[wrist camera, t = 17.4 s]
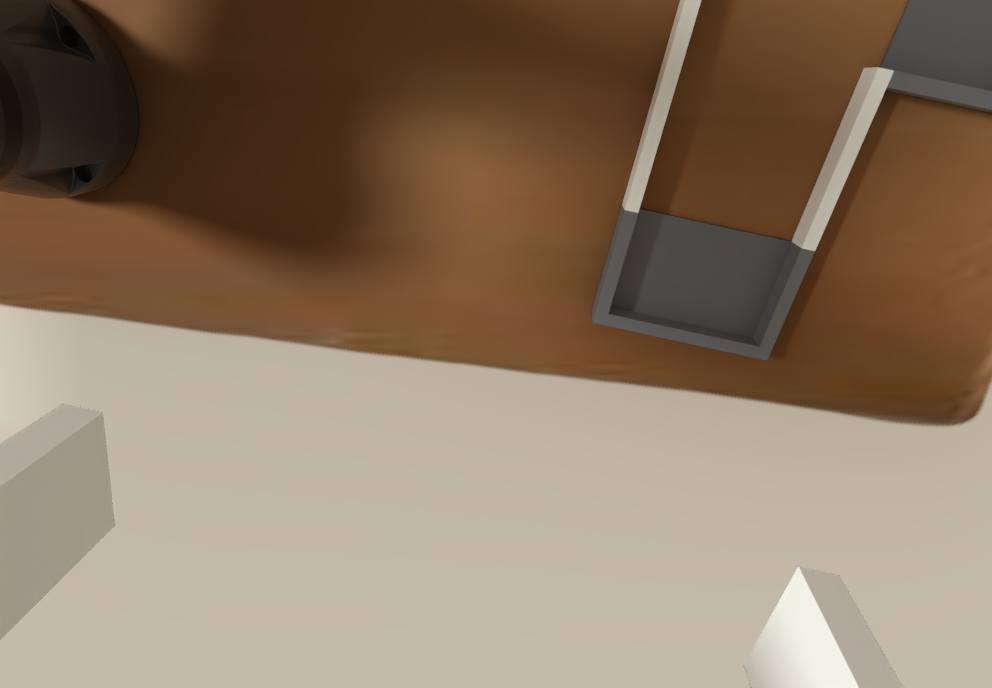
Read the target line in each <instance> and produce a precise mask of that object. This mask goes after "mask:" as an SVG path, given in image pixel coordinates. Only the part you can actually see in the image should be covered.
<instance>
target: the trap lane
mask: <svg viewBox="0 0 992 688" xmlns="http://www.w3.org/2000/svg"><path fill="white" fill-rule="evenodd" d="M700 4H701V0H680V2H679V6H678V9H677V13H676V16H675V20H674V23H673V27H672V30H671V34H670V37H669V41H668V44H667V48H666V51H665V55H664V59H663V62H662V66H661V69H660V73H659V76H658V80H657V83H656V87H655V90H654V94H653V97H652V101H651V104H650V108H649V111H648V115H647V118H646V122H645V126H644V129H643V133H642V136H641V140H640V143H639V147H638V150H637V154H636V157H635V161H634V164H633V168H632V171H631V175H630V178H629V182H628V185H627V189H626V193H625V196H624V200H623V203H622V207H621V210H620V214H619V217H618V221H617V224H616V228H615V231H614V235H613V238H612V242H611V245H610V249H609V252H608V256H607V260H606V263H605V267H604V270H603V274H602V277H601V281H600V284H599V288H598V291H597V295H596V298H595V302H594V305H593V309H592V312H591V316H592V323H595V324H600V325H605V326H609V327H614V328H618V329H623V330H628V331H632V332H637V333H641V334H646V335H651V336H655V337H660V338H664V339H669V340H673V341H678V342H683V343H687V344H692V345H696V346H701V347H706V348H710V349H715V350H719V351H724V352H729V353H733V354H738V355H742V356H747V357H751V358H756V359H761V360H765V361H767V360H768V358H769V356H770V353H771V351H772V349H773V346H774V344H775V342H776V340H777V337H778V335H779V333H780V330H781V328H782V326H783V324H784V321H785V319H786V317H787V314H788V312H789V310H790V308H791V305H792V303H793V301H794V298H795V296H796V294H797V292H798V289H799V287H800V285H801V282H802V280H803V278H804V276H805V273H806V271H807V269H808V266H809V264H810V262H811V260H812V257H813V255H814V253H815V250H816V248H817V246H818V244H819V241H820V239H821V237H822V234H823V232H824V230H825V228H826V225H827V223H828V221H829V218H830V216H831V214H832V212H833V209H834V207H835V205H836V202H837V200H838V198H839V196H840V193H841V191H842V189H843V186H844V184H845V182H846V180H847V177H848V175H849V173H850V170H851V168H852V166H853V164H854V161H855V159H856V157H857V154H858V152H859V150H860V148H861V145H862V143H863V141H864V138H865V136H866V134H867V132H868V129H869V127H870V125H871V122H872V120H873V118H874V116H875V113H876V111H877V109H878V106H879V104H880V102H881V100H882V97H883V95H884V93H885V90H887V91H891V92H896V93H901V94H905V95H910V96H915V97H920V98H924V99H929V100H934V101H938V102H943V103H948V104H952V105H957V106H962V107H966V108H971V109H976V110H980V111H985V112H990V113H992V0H909V1H908V3H907V6H906V8H905V10H904V13H903V15H902V17H901V20H900V22H899V24H898V27H897V29H896V31H895V34H894V36H893V38H892V41H891V43H890V45H889V48H888V50H887V52H886V55H885V57H884V59H883V62H882V64H881V66H880V67H874V68H864V69H863V71H862V73H861V76H860V78H859V81H858V83H857V85H856V88H855V90H854V93H853V95H852V97H851V100H850V102H849V105H848V107H847V109H846V112H845V114H844V117H843V119H842V121H841V124H840V126H839V129H838V131H837V133H836V136H835V138H834V141H833V143H832V145H831V148H830V150H829V153H828V155H827V157H826V160H825V162H824V165H823V167H822V169H821V172H820V174H819V177H818V179H817V181H816V184H815V186H814V189H813V191H812V193H811V196H810V198H809V201H808V203H807V205H806V208H805V210H804V213H803V215H802V217H801V220H800V222H799V225H798V227H797V229H796V232H795V234H794V237H793V239H792V241H787V240H782V239H778V238H773V237H768V236H764V235H759V234H754V233H750V232H745V231H741V230H736V229H731V228H727V227H722V226H717V225H713V224H708V223H704V222H699V221H694V220H690V219H685V218H680V217H676V216H671V215H666V214H662V213H657V212H653V211H648V210H643V209H640V206H641V202H642V199H643V196H644V192H645V189H646V185H647V182H648V179H649V175H650V172H651V169H652V165H653V162H654V159H655V155H656V152H657V148H658V145H659V142H660V138H661V135H662V132H663V128H664V125H665V121H666V118H667V115H668V111H669V108H670V105H671V101H672V98H673V95H674V91H675V88H676V84H677V81H678V78H679V74H680V71H681V68H682V64H683V61H684V58H685V54H686V51H687V47H688V44H689V41H690V37H691V34H692V31H693V27H694V24H695V21H696V17H697V14H698V10H699V7H700Z"/></svg>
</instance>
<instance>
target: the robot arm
mask: <svg viewBox="0 0 992 688" xmlns="http://www.w3.org/2000/svg"><path fill="white" fill-rule="evenodd" d="M137 133H138V109H137V102H136V97H135V92H134V88H133V85H132V82H131V79H130V76H129V73H128V71H127V69H126V66H125V64H124V62H123V60H122V58H121V56H120V54H119V53H118V51H117V49H116V48H115V46H114V44H113V43H112V41H111V40H110V39H109V37H108V36H107V34H106V33H105V32H104V31H103V29H102V28H101V27H100V26H99V25H98V24H97V22H96V21H95V20H94V19H93V18H92V17H91V16H90V15H89V14H88V13H87V12H85V11H84V10H83V9H82V8H81V7H80V6H78V5H77V4H76V3H75V2H73V1H72V0H0V191H2V192H8V193H14V194H21V195H27V196H33V197H39V198H66V197H72V196H76V195H80V194H85V193H89V192H93V191H96V190H98V189H101V188H103V187H105V186H106V185H108V184H110V183H111V182H112V181H114V180H115V179H116V178H117V177H118V176H119V175H120V174H121V173H122V171H123V170H124V169H125V167H126V166H127V164H128V162H129V160H130V158H131V156H132V154H133V151H134V148H135V144H136V140H137ZM114 526H115V522H114V513H113V503H112V494H111V484H110V475H109V466H108V456H107V448H106V438H105V429H104V420H103V412H98V411H94V410H89V409H85V408H80V407H76V406H71V405H67V404H61V405H60V406H58V407H57V408H55V409H54V410H52V411H51V412H49V413H47V414H46V415H44V416H43V417H41V418H40V419H38V420H37V421H35V422H33V423H32V424H30V425H29V426H28V427H26V428H24V429H23V430H21V431H20V432H18V433H17V434H15V435H13V436H12V437H10V438H9V439H7V440H6V441H4V442H3V443H1V444H0V640H1V639H2V638H3V637H4V636H5V635H6V634H7V632H9V631H10V630H11V629H12V628H13V627H14V626H15V625H16V624H17V623H18V622H19V621H20V620H21V619H22V618H23V617H24V616H25V615H26V614H27V613H28V612H29V611H30V610H31V609H32V608H33V607H34V606H35V605H36V604H37V603H38V602H39V601H40V600H41V599H42V598H43V597H44V596H45V595H46V594H47V593H48V592H49V591H50V590H51V589H52V588H53V587H54V586H55V585H56V584H57V583H58V582H59V581H60V580H61V579H62V578H63V577H64V576H65V575H66V574H67V573H68V572H69V571H70V570H71V569H72V568H73V567H74V566H75V565H76V564H77V563H78V562H79V561H80V560H81V559H82V558H83V557H84V556H85V555H86V554H87V553H88V552H89V551H90V550H91V549H92V548H93V547H94V546H95V545H96V544H97V543H98V542H99V541H100V540H101V539H102V538H103V537H104V536H105V535H106V534H107V533H108V532H109V531H110V530H111V529H112V528H113V527H114ZM744 669H745V672H746V675H747V679H748V682H749V685H750V688H904V687H903V685H902V684H901V682H900V680H899V678H898V677H897V675H896V673H895V671H894V670H893V668H892V666H891V664H890V663H889V661H888V659H887V657H886V656H885V654H884V652H883V651H882V649H881V647H880V645H879V643H878V642H877V640H876V638H875V636H874V635H873V633H872V631H871V629H870V628H869V626H868V625H867V623H866V621H865V619H864V617H863V615H862V614H861V612H860V610H859V608H858V607H857V605H856V603H855V601H854V600H853V598H852V596H851V594H850V593H849V591H848V589H847V588H846V586H845V584H844V582H843V581H842V579H841V577H840V576H839V575H836V574H831V573H827V572H822V571H817V570H813V569H809V568H803V567H798V568H797V570H796V572H795V574H794V575H793V577H792V579H791V581H790V583H789V585H788V586H787V588H786V590H785V592H784V594H783V595H782V597H781V599H780V601H779V602H778V604H777V606H776V608H775V610H774V611H773V613H772V615H771V617H770V619H769V620H768V622H767V624H766V626H765V628H764V629H763V631H762V633H761V635H760V637H759V639H758V640H757V642H756V644H755V646H754V647H753V649H752V651H751V653H750V655H749V656H748V658H747V660H746V662H745V664H744Z"/></svg>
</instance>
